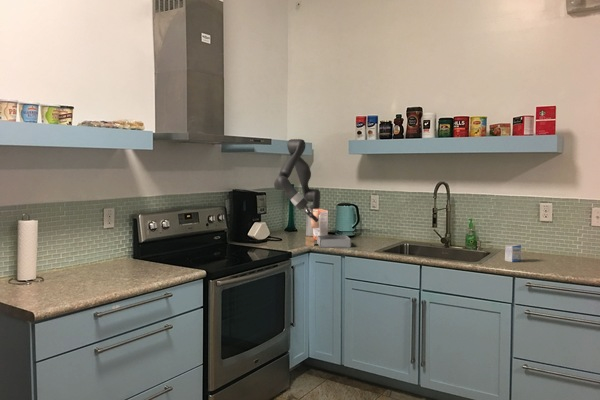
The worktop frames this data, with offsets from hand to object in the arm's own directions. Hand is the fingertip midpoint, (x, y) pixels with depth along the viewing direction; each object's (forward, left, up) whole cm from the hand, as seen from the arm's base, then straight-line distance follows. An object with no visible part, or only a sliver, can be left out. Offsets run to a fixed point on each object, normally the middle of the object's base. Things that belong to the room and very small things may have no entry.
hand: (317, 220), depth 318 cm
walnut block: (0, -5, -16) cm, 17 cm away
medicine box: (+55, +100, -16) cm, 115 cm away
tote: (+1, +10, -16) cm, 19 cm away
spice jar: (0, -2, -4) cm, 5 cm away
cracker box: (-19, +4, -16) cm, 25 cm away
